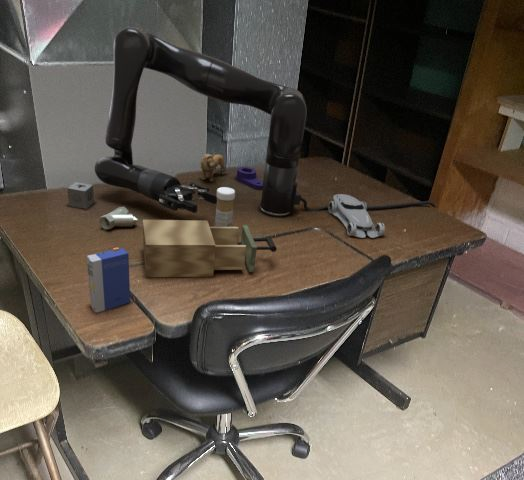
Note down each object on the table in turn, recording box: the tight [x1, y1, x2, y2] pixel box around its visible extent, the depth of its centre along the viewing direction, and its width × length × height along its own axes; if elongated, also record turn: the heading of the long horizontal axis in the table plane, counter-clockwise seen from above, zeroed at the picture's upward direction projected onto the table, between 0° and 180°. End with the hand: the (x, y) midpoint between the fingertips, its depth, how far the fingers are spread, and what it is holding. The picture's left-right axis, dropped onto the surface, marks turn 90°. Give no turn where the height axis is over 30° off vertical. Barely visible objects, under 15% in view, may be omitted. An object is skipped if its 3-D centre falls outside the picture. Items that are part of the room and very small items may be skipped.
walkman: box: [86, 247, 131, 313], centre depth 113 cm, size 8×3×12 cm, turn 130°
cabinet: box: [142, 219, 215, 278], centre depth 132 cm, size 15×13×8 cm
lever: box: [236, 166, 263, 191], centre depth 182 cm, size 12×6×3 cm, turn 36°
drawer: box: [209, 224, 278, 273], centre depth 135 cm, size 20×12×6 cm, turn 102°
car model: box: [327, 193, 386, 239], centre depth 165 cm, size 11×24×5 cm, turn 13°
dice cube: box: [66, 181, 95, 210], centre depth 153 cm, size 5×5×5 cm
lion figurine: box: [200, 153, 226, 182], centre depth 180 cm, size 15×5×9 cm, turn 162°
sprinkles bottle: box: [214, 186, 236, 227], centre depth 143 cm, size 5×5×14 cm
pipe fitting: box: [99, 206, 138, 231], centre depth 145 cm, size 8×4×7 cm
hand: (206, 204), depth 145 cm, fingers open, 8 cm apart
